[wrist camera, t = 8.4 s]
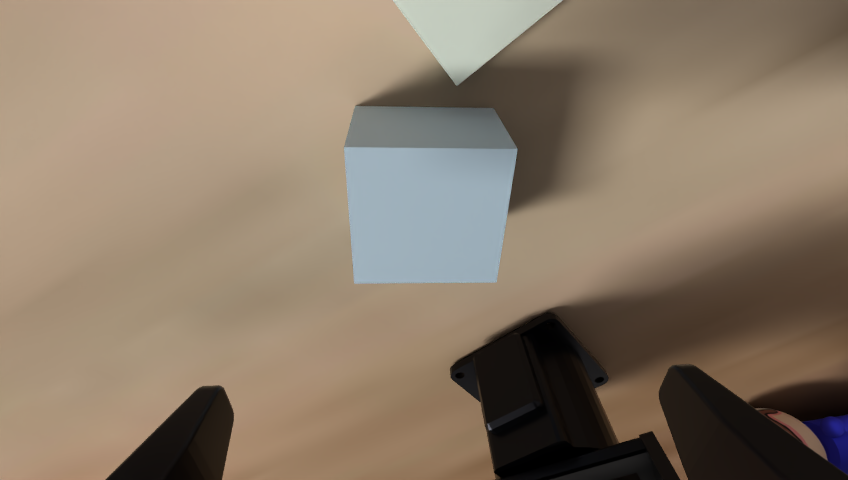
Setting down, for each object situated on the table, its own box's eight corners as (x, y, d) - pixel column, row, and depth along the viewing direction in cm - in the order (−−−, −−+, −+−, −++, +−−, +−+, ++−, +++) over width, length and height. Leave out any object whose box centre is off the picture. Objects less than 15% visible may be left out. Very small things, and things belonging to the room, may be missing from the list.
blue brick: (479, 223, 19) (496, 282, 15) (362, 223, 18) (354, 283, 15) (493, 107, 16) (517, 149, 13) (355, 104, 16) (344, 147, 12)
